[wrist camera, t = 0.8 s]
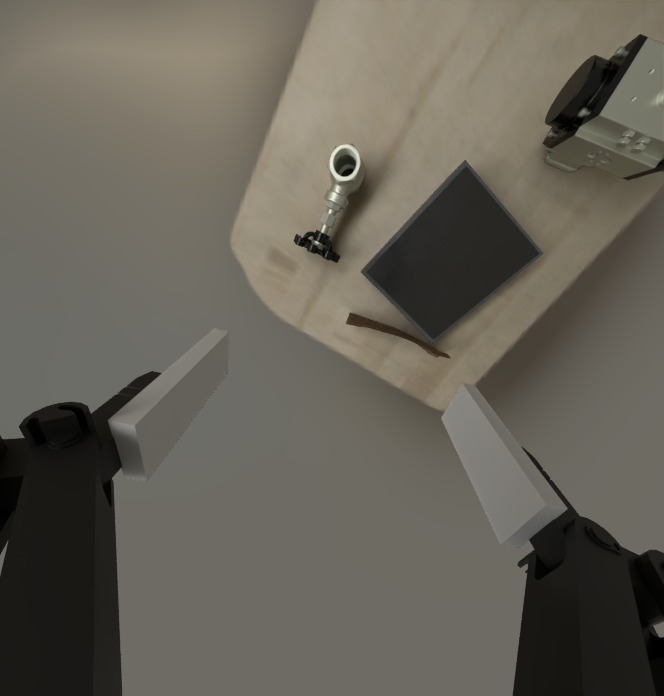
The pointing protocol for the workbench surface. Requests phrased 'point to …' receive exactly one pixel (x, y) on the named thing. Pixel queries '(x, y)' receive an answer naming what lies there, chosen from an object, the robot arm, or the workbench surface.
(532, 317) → the workbench surface
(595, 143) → the pneumatic valve
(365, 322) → the wood plank
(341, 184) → the valve
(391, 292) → the stand
